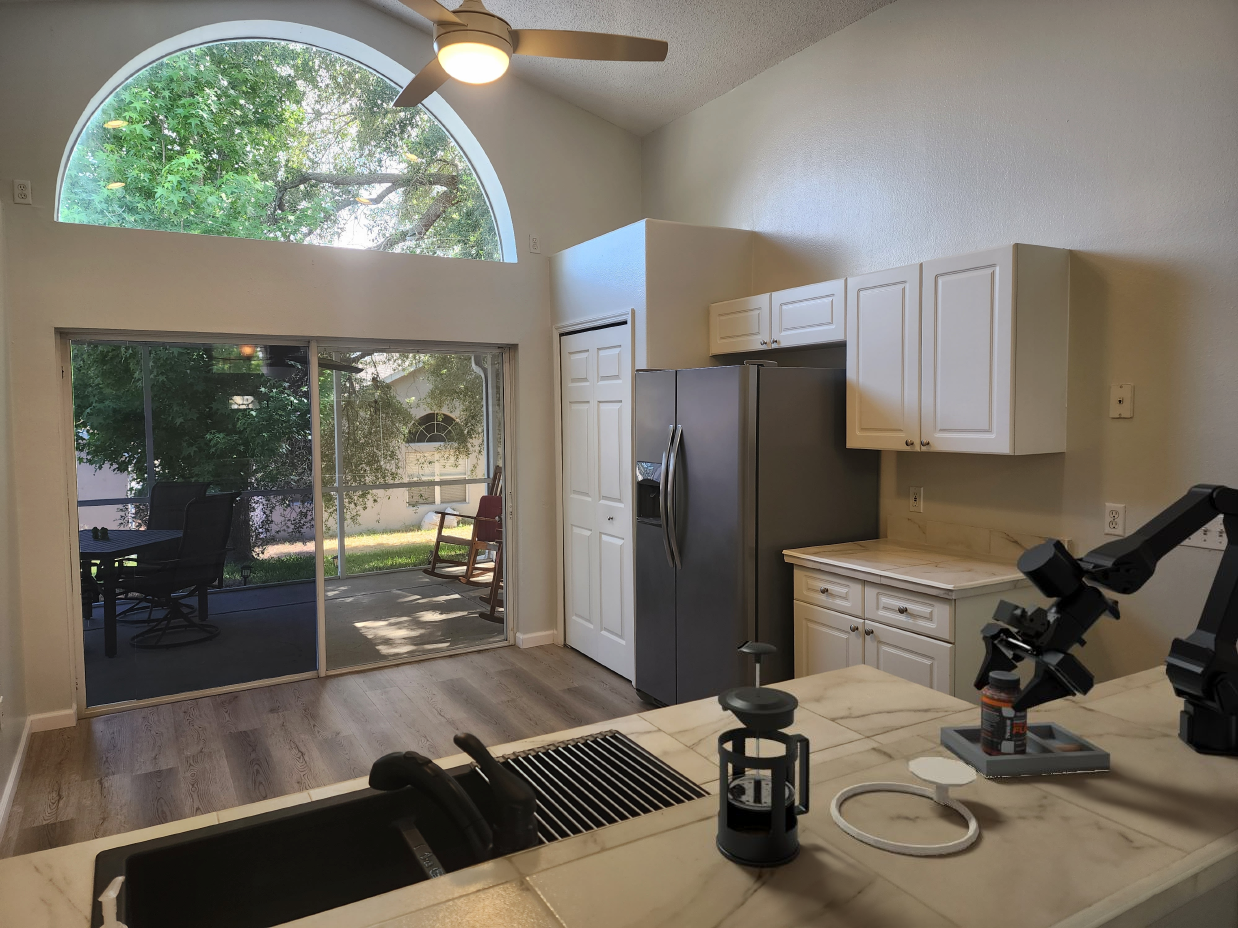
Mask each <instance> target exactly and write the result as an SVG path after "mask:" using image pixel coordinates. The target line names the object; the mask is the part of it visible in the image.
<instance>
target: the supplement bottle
mask: <svg viewBox="0 0 1238 928" xmlns="http://www.w3.org/2000/svg"><path fill="white" fill-rule="evenodd" d="M989 682H990V684H989V685H988V686H985V687H984V688H983V689H982V690H981V694H980V695H981V699H980V725H981V748H982V750H983V751H984V752H986V753H987V754H990V755H992V756H1004V755H1023V754H1026V749H1027V748H1026V745H1027V742H1026V741H1027V723H1028V709H1027V710H1024V711H1021V712H1018V713H1016V712H1015V711H1014V710H1013V709H1012V708H1011V705H1012V704H1013V702H1014V701H1015V699H1016V698H1017V696H1018V695H1019V694H1020V693H1021V691H1022V690H1023V689H1022V688H1021V677H1020V675H1019V674H1016V673H1014V672H1005V671H993V672H990V673H989Z"/></svg>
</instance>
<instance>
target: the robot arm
mask: <svg viewBox="0 0 1238 928" xmlns="http://www.w3.org/2000/svg"><path fill="white" fill-rule="evenodd" d="M1220 515H1223V517H1222V526H1223V529H1224V532H1225V537H1226V539H1227V541H1226V542H1227V543H1226V546H1225V547H1224V548H1225V549H1224V550H1223V553H1222V557H1221V559H1220V562H1219V565H1218V568H1217V570H1216V573H1215V575H1214V577H1213V578H1214V579H1213V581H1212V584H1211V587H1210V590H1209V592H1208V596H1207V597H1206V601H1205V603H1204V606H1203V609H1202V611H1201V614H1200V617H1199V621H1198V622H1197V625H1196V628H1195V630H1194V631H1193V632H1192V633H1191V634H1190V635H1189V636H1187V637H1186V638H1185V639H1183V638H1180V637H1174V638H1173V640H1172V641H1171V646H1170V650H1169V652H1168V655H1167V656H1166V657H1165V659H1164V660H1163V661H1164V663H1166V667H1165V675H1166V676H1167V678H1168V680H1169V682H1170V684H1171V685H1172V688H1173V692H1174V694H1175V697H1177V698H1181V699H1183V709H1181V710H1180V711H1179V732H1177V737H1178V738H1179V739H1181V740H1182V741H1183V742H1184V743H1185V744H1187V745H1188V746H1189V747H1190V748H1191V749H1193V750H1194V751H1195V752H1198V753H1203V754H1204V753H1206V754H1217V755H1231V756H1238V648H1237V642H1238V489H1237V488H1233V487H1232V488H1231V487H1229V486H1228V485H1227V486H1226V485H1222V484H1210V483H1198V484H1196V485H1195V484H1194V485H1193V486H1191V487H1189V489H1188V490H1187V492H1186V493H1185V494H1183V496H1182V497H1180V498H1179V499H1177V500H1176V501H1175V502H1173V503H1172V504H1171V505H1170V506H1168V507H1167V508H1166V509H1164V510H1162V511H1161V512H1160V513H1159V514H1157V515H1156V516H1155V517H1153V518H1152V519H1150V520H1149V521H1147V522H1146V523H1145V524H1143V525H1142V526H1140V527H1139V528H1138V529H1136V530H1135V531H1134V532H1133V533H1131V534H1130V535H1127V536H1125V537H1122V538H1119V539H1115V540H1112V541H1108V542H1106V543H1104V544H1101V545H1099V546H1098V547H1095V548H1093V549H1091V550H1089V551H1088V552H1087V553H1086V554H1085V555H1084V556H1081V557H1074V556H1073V555H1072V554H1071V553H1070V552H1069V551H1068V549H1067V548H1066V546H1065V545H1064V543H1063V542H1062V541H1061V540H1060V539H1055V538H1051V537H1049V538H1048V539H1047V540H1046V541H1044V543H1039V544H1037V545H1034V546H1033V547H1031V548H1030V549H1028V550H1024V552H1023V553H1022V554H1021V555H1020V556H1019V557H1018V560H1017V561H1016V568H1017V570H1018V571H1019V572H1020V573H1021V574H1022V575H1023V576H1024V577H1025V578H1026V579H1027V580H1028V582H1030V583H1031V584H1032V586H1034V588H1035V589H1036V590H1037V591H1038V592H1039V593H1040V594H1041V595H1042V596H1043V597H1045V598H1047V599H1054V598H1055V599H1054V600H1053V602H1052V603H1050V605H1049V606H1048V607H1047V608H1046V609H1045V608H1043V607H1041V606H1039V605H1035V604H1033V603H1032V604H1030V605H1028V606H1027V607H1026V608H1025V607H1022V606H1020V605H1017V604H1015V603H1013V602H1010V601H1006V600H1004V599H1001V598H1000V600H999V602H998V604H997V606H996V608H995V610H994V612H993V615H992V618H991V619H992V620H994V621H995V622H988V623H986V624H985V626H984V627H982V629H980V631H979V633H980V635H982V636H981V641H982V642H983V643H984V648H985V654H984V657H983V658H984V659H983V661H982V663H981V666H980V668H979V671H978V673H977V676H976V678H975V681H974V683H973V687H974V688H975V689H976V691H979V692H980V691H982V689H983V688H984V687H985V686H988V685H989V684H990V682H989V673H990V672H993V671H1005V672H1010V673H1012V672H1013V671H1014V670H1016V669H1017V668H1018V667H1019V666H1018V665H1017V664H1018V663H1021V662H1024V661H1025V659H1027V660H1029V661H1030V662H1031V661H1032V662H1033V663H1035V664H1034V672H1033V676H1032V677H1031V678H1030V680H1029V681H1028V682H1027V684H1026V685H1025V686H1024V688H1023V689H1021V690H1022V691H1021V693H1020V694H1019V695H1018V696H1017V698H1016V699H1015V701H1014V702H1013V704H1012V705H1011V708H1012V709H1013V710H1014V711H1015V712H1016V713H1018V712H1021V711H1024V710H1027V711H1028V710H1029V709H1032V708H1034V707H1038V706H1040V705H1044V704H1046V703H1050V702H1053V701H1057V700H1061V699H1064V698H1068V697H1072V698H1075V697H1076V696H1078V694H1079V695H1082V696H1084V697H1086V696H1087V695H1088V694H1089V693H1090V691H1092V689H1093V688H1095V675H1094V674H1093V673H1092V672H1091V671H1090V670H1089V669H1088V668H1087V667H1086V666H1085V665H1084V664H1083V663H1082V661H1081V660H1079V659H1078V658H1077V656H1075V654H1072V653H1070V651H1072V649H1073V648H1074V647H1075V646H1077V647H1080V648H1084V647H1085V646H1086V645H1087V644H1088V642H1087V641H1086V639H1084V638H1083V637H1084V636H1085V635H1086V634H1087V633H1088V632H1089V631H1090V630H1091V629H1092V627H1094V626H1095V624H1096V623H1097V622H1098V621H1099V620H1100V619H1101V618H1102V617H1107V618H1110V619H1112V620H1115V621H1120V620H1121V612H1120V609H1119V600H1117V599H1114V598H1110V597H1108V596H1106V595H1105V594H1104V593H1103V591H1102V590H1104V591H1108V592H1112V593H1116V594H1119V595H1127V596H1129V595H1133V594H1135V593H1136V592H1138V591H1140V589H1142V588H1143V586H1144V585H1145V584H1146V583H1147V582H1148V581H1149V580H1150V579H1151V578H1152V577H1153V576H1154V574H1155V572H1156V568H1157V566H1158V565H1157V564H1158V563H1159V561H1161V560H1162V558H1164V557H1165V556H1166V555H1168V554H1169V553H1171V552H1172V551H1173V550H1174V549H1175V548H1177V547H1179V545H1181V544H1182V543H1184V542H1185V541H1186V540H1187V539H1189V538H1190V537H1192V536H1193V535H1194V534H1196V533H1197V532H1198V531H1200V530H1201V529H1203V528H1204V527H1206V526H1207V525H1208V524H1209V523H1211V522H1212V521H1214V519H1216V518H1217V517H1218V516H1220ZM998 622H1000V623H1002V624H1004V625H1002V624H1000V623H998ZM1006 625H1007V626H1009V627H1011V628H1012V630H1011V629H1010V628H1009V627H1007V626H1006ZM1077 693H1078V694H1077Z"/></svg>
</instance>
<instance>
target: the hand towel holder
mask: <svg viewBox="0 0 1238 928" xmlns="http://www.w3.org/2000/svg"><path fill="white" fill-rule="evenodd" d="M908 771H910V773H911V774H913V775H914V776H915V777H916V778H917V779H920V780H921V781H923V782H924V783H927V784H932V785H935V790H933V789H930V788H927V787H923V786H918V785H914V784H910V783H901V782H894V781H893V782H892V781H873V782H864V783H858V784H855V785H852V786H851V785H850V786H848V787H847V788H845V789H844V788H843V790H841V791H838V793H837V794H836V796H835V797H834V798H833V799H832V801H831V804H830V807H829V808H830V809H829V812H830V814H831V817H832V818H833V821H834V822H835V823H836V824H837V826H839V828H840V829H841V830H842V829H843V830H842V831H843V832H845V833H847V834H848V833H849V834H848V835H850V836H851V835H852V836H851V837H853V836H854V837H855V838H854V837H853V838H854V839H856V838H857V839H856V840H858V839H860V840H862V841H865V842H867V843H869V844H871V845H873V846H872V847H874V846H876V847H875V848H877V847H880V848H879V849H881V848H882V850H884V849H886V851H888V850H889V851H888V852H892V851H893V853H897V852H900V853H899V854H903V853H907V854H906V855H909V854H917V855H916V856H925V855H936V856H938V855H937V854H943V853H952V852H954V853H956V852H955V851H957V852H959V851H958V850H960V849H963V850H965V849H967V848H968V847H969V846H971V845H972V844H973V843H974V842H975V841H976V839H977V837H978V835H979V833H980V828H979V824H978V820H977V819H976V818H975V816H974V815H973V813H972V812H971V811H970V810H969V808H968V807H966V806H965V805H963V804H962V803H961V802H959V801H958V800H956V799H955V798H952V797H950V795H949V788H953V787H954V788H956V787H957V788H958V787H959V788H962V787H965V786H967V785H969V784H971V783H973V782H975V781H976V780H977V779H978V777H977V771H976V770H974V769H973V768H972V767H970V766H969V765H968V764H966V763H965V762H962V761H960V760H959V761H958V760H953V759H950V758H946V757H940V756H935V757H934V756H921V757H918V758H916V759H912V760H910V761H908ZM872 791H873V792H874V791H892V792H893V791H894V792H902V793H909V794H915V795H918V796H922V797H926V798H928V797H929V799H931V798H932V800H933V801H934V802H935V801H936V802H937V803H936V802H935V803H936V804H938V803H942V804H945V803H946V804H948V805H950V806H952V807H954V808H955V809H956V810H958V811H959V812H960V813H962V814H963V815H964V816H963V815H962V814H961V815H962V816H963V817H964V818H965V820H966V821H967V822H968V827H969V830H968V833H967V834H966V835H965V836H964V837H962V838H961V839H958V840H955V841H953V842H950V843H949V842H948V843H941V844H935V845H921V844H920V845H918V844H917V845H915V844H914V845H913V844H906V843H900V842H893V841H889V840H886V839H884V838H883V839H882V838H879V837H875V836H872V835H871V834H868V833H866V832H863V831H860V830H859V829H857V828H855V827H854V826H853V825H851V824H849V823H848V822H847V821H845V820H844V819H843V817H841V814H840V804H841V803H842V802H843V800H845V799H846V798H849V797H850V796H853V795H857V794H861V793H863V792H864V793H865V792H872ZM948 805H947V806H948ZM950 806H949V807H950ZM952 807H951V808H952ZM954 808H953V809H954ZM955 809H954V810H955ZM956 810H955V811H956ZM958 811H957V812H958ZM959 812H958V813H959ZM960 813H959V814H960ZM860 840H859V841H860ZM862 841H861V842H862ZM865 842H864V843H865ZM972 842H973V843H972ZM867 843H866V844H867ZM971 843H972V844H971ZM869 844H868V845H869ZM970 844H971V845H970ZM871 845H870V846H871ZM967 846H968V847H967ZM966 847H967V848H966ZM964 848H965V849H964ZM960 851H961V850H960ZM918 854H920V855H918ZM922 854H924V855H922ZM952 854H953V853H952Z"/></svg>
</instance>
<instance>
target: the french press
mask: <svg viewBox="0 0 1238 928" xmlns="http://www.w3.org/2000/svg"><path fill="white" fill-rule="evenodd" d="M739 651H741V652H742V653H744V654H749V655H753V663H754V664H755V686H739V687H733V688H729V689H726V690H723V691H722V692H720V693H719V694H718V695H717V703H718V704H719V706H721V711H723V712H728V711H730V712H731V713H732V714H733V715H734V716H735V717H736V719H738V721H739V722H740V723H741V724H743V726H742V727H736V728H731V729H728V730H726V731H724V732H722V733H721V734H720V735H718V738H717V754H718V756H719V757H718V758H719V765H718V766H719V774H718V775H719V778H718V779H719V781H718V783H719V784H718V785H719V789H718V790H719V791H718V792H719V797H718V798H719V810H718V811H717V834H716V836H715V844H716V847H717V850H718V851H719V853H721V854H722V855H723V856H724V857H725V858H727V859H729V860H730V861H732V862H735V863H737V864H739V865H743V866H746V867H752V868H761V869H762V868H765V869H766V868H777V867H781V866H785V865H787V864H790V863H791V862H793V861H794V860H796V859H797V857H798V855H799V854H800V850H801V845H800V841H799V820H798V816H799V817H800V816H803V815H806V814H809V813H810V776H811V775H810V774H811V773H810V770H811V769H810V764H811V763H810V761H811V760H810V759H811V758H810V751H811V749H810V748H811V747H810V744H811V743H810V741H811V740H810V739H809V738H808V737H806V736H805V735H803V734H801V733H794V734H789V733H786V732H784V731H781V730H785V729H787V728H789V727H790V726H792V725H793V724H794V721H795V710H796V709H798V707H799V700H798V699H797V697H796V696H794V695H793V694H791V693H789V692H787V691H785V690H782V689H777V688H773V687H765V686H760V664H761V665H762V662H763V655H765V656H766V655H771V654H775V653H776V652H777V651H778V650H777V647H775V646H774V645H771V644H769V643H764V642H747V643H746V644H745V645H744V646H743V647H741V648H739ZM746 739H755V756H750V755H749V756H748V755H746ZM760 739H761V740H762V739H763V740H768V741H769V740H770V741H773V742H777V743H781V745H784V746H785V754H782V755H776V756H770V757H769V756H768V757H767V756H766V757H765V756H764V757H762V756H760ZM729 742H731V750H730V749H727V748H726V747H725V746H724V745H725V744H727V743H729ZM797 760H798V804H796V763H797ZM729 764H730V765H731V777H729ZM746 769H748V770H755V773H746ZM769 770H770V775H768V774H760V771H769ZM747 828H748V829H749V828H753V829H754V828H756V829H757V828H759V829H763V830H765V829H766V830H769V831H770V835H752V834H747V833H743V832H740V831H738V830H742V829H747Z"/></svg>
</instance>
